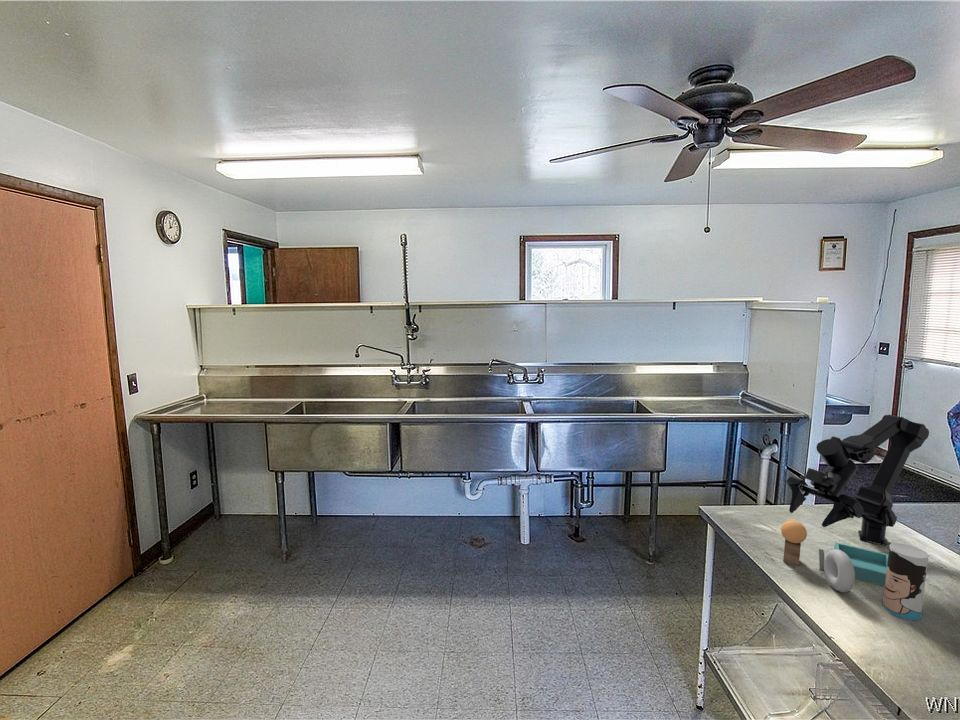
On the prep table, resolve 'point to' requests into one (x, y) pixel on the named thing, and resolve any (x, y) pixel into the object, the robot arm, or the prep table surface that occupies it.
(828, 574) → the donut
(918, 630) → the prep table surface
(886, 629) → the prep table surface
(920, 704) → the prep table surface
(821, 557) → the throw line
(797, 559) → the tee
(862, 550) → the tray
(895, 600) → the cup
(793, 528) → the ball
